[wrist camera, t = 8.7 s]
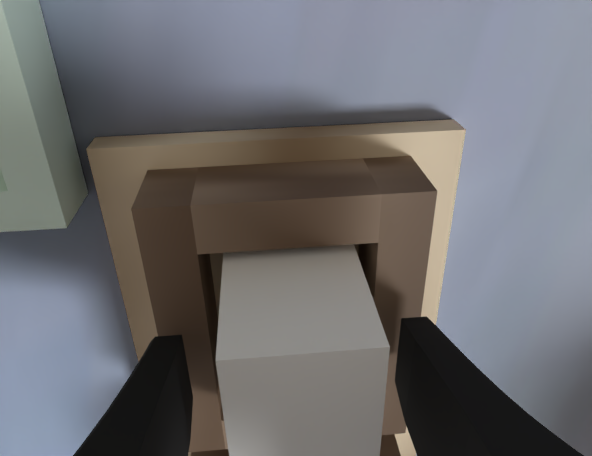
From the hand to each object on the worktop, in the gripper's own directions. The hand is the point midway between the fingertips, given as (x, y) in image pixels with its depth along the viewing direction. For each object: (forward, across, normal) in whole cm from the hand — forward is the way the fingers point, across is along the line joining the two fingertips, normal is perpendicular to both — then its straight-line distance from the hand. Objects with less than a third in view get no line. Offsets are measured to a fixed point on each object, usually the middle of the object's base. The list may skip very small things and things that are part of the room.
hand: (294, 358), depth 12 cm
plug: (+3, 0, 0) cm, 3 cm away
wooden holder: (+3, 0, +4) cm, 6 cm away
